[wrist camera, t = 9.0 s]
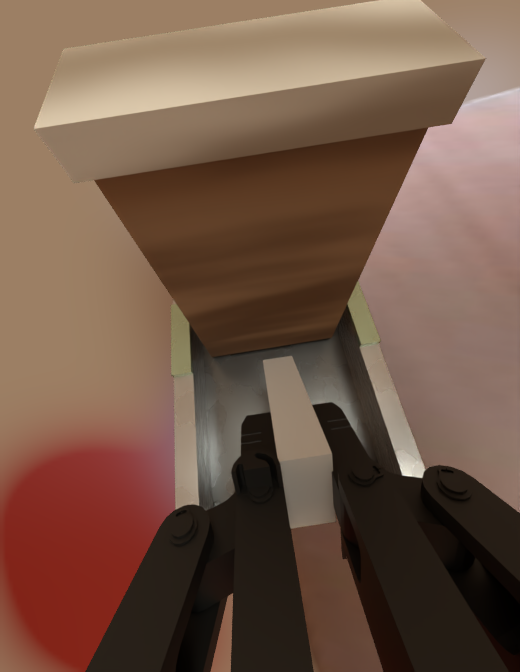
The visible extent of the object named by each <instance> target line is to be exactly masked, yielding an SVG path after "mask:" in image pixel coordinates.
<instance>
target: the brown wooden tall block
mask: <svg viewBox="0 0 520 672" xmlns="http://www.w3.org/2000/svg"><path fill="white" fill-rule="evenodd" d="M484 61H485V57H484V56H482V55H481V54H480V53H479V52H478V51H477V50H476V49H475V48H474V47H472V46H471V45H470V44H469V43H468V42H467V41H466V40H464V39H463V38H462V37H461V36H460V35H459V34H458V33H457V32H455V31H454V30H453V29H452V28H451V27H450V26H449V25H448V24H446V23H445V22H444V21H443V20H442V19H441V18H440V17H439V16H438V15H436V14H435V13H434V12H433V11H432V10H431V9H430V8H429V7H428V6H426V5H425V4H424V3H423V2H422V1H421V0H379V1H372V2H365V3H359V4H353V5H346V6H340V7H333V8H327V9H320V10H314V11H307V12H301V13H294V14H288V15H281V16H274V17H268V18H262V19H255V20H249V21H242V22H235V23H229V24H222V25H216V26H210V27H203V28H196V29H190V30H183V31H177V32H170V33H164V34H157V35H151V36H144V37H138V38H131V39H125V40H118V41H112V42H105V43H99V44H93V45H86V46H79V47H73V48H66V49H63V52H62V54H61V57H60V60H59V63H58V65H57V68H56V71H55V73H54V76H53V78H52V81H51V84H50V87H49V89H48V92H47V95H46V97H45V100H44V103H43V105H42V108H41V111H40V113H39V116H38V119H37V121H36V124H35V127H34V130H35V131H36V133H37V134H38V135H39V137H40V138H41V139H42V141H43V142H44V143H45V145H46V146H47V147H48V149H49V150H50V151H51V153H52V154H53V156H54V157H55V158H56V160H57V161H58V162H59V164H60V165H61V166H62V168H63V169H64V170H65V172H66V173H67V174H68V175H69V177H70V178H71V180H72V181H73V182H74V183H79V182H85V181H91V180H94V181H95V182H96V184H97V185H98V187H99V188H100V190H101V191H102V193H103V194H104V196H105V197H106V199H107V200H108V202H109V203H110V205H111V206H112V208H113V209H114V211H115V212H116V214H117V215H118V217H119V218H120V220H121V221H122V223H123V224H124V226H125V227H126V229H127V230H128V232H129V233H130V235H131V236H132V238H133V239H134V241H135V242H136V244H137V245H138V247H139V248H140V250H141V251H142V253H143V254H144V256H145V257H146V259H147V260H148V262H149V263H150V265H151V266H152V268H153V269H154V271H155V272H156V274H157V275H158V277H159V278H160V280H161V281H162V283H163V284H164V286H165V287H166V289H167V290H168V292H169V293H170V295H171V296H172V298H173V300H174V301H175V303H176V304H177V306H178V307H179V309H180V310H181V312H182V313H183V315H184V316H185V318H186V319H187V321H188V322H189V324H190V325H191V327H192V328H193V330H194V331H195V333H196V334H197V336H198V337H199V339H200V340H201V342H202V343H203V345H204V346H205V348H206V349H207V351H208V352H209V354H210V355H211V357H217V356H223V355H229V354H235V353H241V352H248V351H254V350H260V349H266V348H272V347H278V346H284V345H290V344H297V343H303V342H309V341H315V340H321V339H327V338H332V336H333V334H334V332H335V330H336V327H337V325H338V323H339V321H340V319H341V316H342V314H343V312H344V310H345V308H346V306H347V303H348V301H349V299H350V297H351V295H352V292H353V290H354V288H355V286H356V284H357V282H358V279H359V277H360V275H361V273H362V271H363V269H364V266H365V264H366V262H367V260H368V258H369V255H370V253H371V251H372V249H373V247H374V245H375V242H376V240H377V238H378V236H379V234H380V232H381V229H382V227H383V225H384V223H385V221H386V218H387V216H388V214H389V212H390V210H391V208H392V205H393V203H394V201H395V199H396V197H397V194H398V192H399V190H400V188H401V186H402V184H403V181H404V179H405V177H406V175H407V173H408V171H409V168H410V166H411V164H412V162H413V160H414V157H415V155H416V153H417V151H418V149H419V147H420V144H421V142H422V140H423V138H424V136H425V134H426V131H427V129H428V127H434V126H440V125H447V124H452V122H453V120H454V118H455V116H456V114H457V112H458V110H459V109H460V107H461V105H462V103H463V101H464V99H465V97H466V95H467V93H468V91H469V89H470V87H471V86H472V84H473V82H474V80H475V78H476V76H477V74H478V72H479V70H480V68H481V67H482V65H483V63H484Z"/></svg>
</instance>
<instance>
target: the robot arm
mask: <svg viewBox="0 0 520 672" xmlns="http://www.w3.org/2000/svg"><path fill="white" fill-rule="evenodd" d="M263 365H264V372H265V378H266V385H267V392H268V398H269V405H270V412H267V413H261V414H254V415H248V416H246V417H245V419H244V421H243V423H242V424H241V456H240V457H239V458H238V459H237V460H236V461H235V463H234V464H233V467H232V470H231V475H232V479H233V483H234V487H235V492H234V493H233V495H232V496H231V497H230V498H228V499H227V500H226V501H224V502H223V503H221V504H219V505H217V506H215V507H213V508H211V509H209V510H207V511H206V510H205V509H204V508H203V507H202V506H198V505H195V504H192V505H184V506H182V507H180V508H178V509H176V510H175V511H173V512H172V513H171V514H170V515H169V516H168V517H166V519H165V520H164V522H163V523H162V525H161V526H160V528H159V529H158V531H157V533H156V536H155V537H154V539H153V541H152V543H151V545H150V547H149V549H148V551H147V553H146V555H145V557H144V559H143V561H142V563H141V565H140V566H139V568H138V570H137V573H136V574H135V576H134V578H133V580H132V582H131V584H130V586H129V588H128V590H127V592H126V594H125V596H124V598H123V600H122V602H121V604H120V606H119V608H118V609H117V611H116V613H115V615H114V617H113V619H112V621H111V623H110V625H109V627H108V629H107V631H106V633H105V635H104V637H103V639H102V641H101V643H100V645H99V646H98V648H97V650H96V652H95V654H94V656H93V658H92V660H91V662H90V664H89V666H88V668H87V670H86V672H210V671H211V667H212V662H213V658H214V653H215V649H216V644H217V640H218V636H219V631H220V627H221V623H222V619H223V614H224V610H225V605H226V601H227V597H228V596H229V595H230V594H232V593H233V619H232V652H231V672H314V671H313V665H312V658H311V652H310V646H309V640H308V634H307V628H306V621H305V615H304V609H303V603H302V597H301V590H300V584H299V578H298V572H297V566H296V560H295V553H294V547H293V541H292V535H291V529H292V528H299V527H305V526H312V525H318V524H325V523H331V522H336V515H337V518H338V521H339V524H340V527H341V547H342V557H343V559H348V562H349V565H350V569H351V572H352V575H353V578H354V581H355V584H356V587H357V590H358V594H359V597H360V600H361V603H362V606H363V609H364V612H365V615H366V618H367V622H368V625H369V628H370V631H371V634H372V637H373V640H374V643H375V647H376V650H377V653H378V656H379V659H380V662H381V665H382V668H383V672H520V513H519V512H517V511H516V510H515V509H513V508H512V507H511V506H509V505H508V504H507V503H506V502H504V501H503V500H502V499H500V498H499V497H498V496H496V495H495V494H494V493H492V492H491V491H490V490H489V489H487V488H486V487H485V486H483V485H482V484H481V483H479V482H478V481H477V480H476V479H474V478H473V477H471V476H470V475H468V474H466V473H465V472H463V471H461V470H458V469H455V468H452V467H449V466H440V465H438V466H433V467H429V468H428V469H427V470H425V471H424V473H423V477H422V478H418V477H410V476H403V475H398V474H393V473H390V472H388V471H386V470H385V469H384V468H383V467H382V466H381V465H380V464H378V463H377V462H375V461H374V460H372V459H371V458H370V457H369V456H368V454H367V452H366V450H365V449H364V447H363V445H362V443H361V442H360V440H359V438H358V437H357V435H356V433H355V431H354V430H353V428H352V427H351V424H350V423H349V421H348V420H347V417H346V416H345V414H344V412H343V411H342V409H341V408H340V407H338V406H337V405H336V404H334V403H333V402H328V403H321V404H315V405H312V404H311V401H310V399H309V396H308V394H307V391H306V389H305V387H304V384H303V382H302V379H301V377H300V374H299V372H298V370H297V367H296V365H295V362H294V360H293V357H292V356H287V357H280V358H274V359H267V360H263ZM335 512H336V514H335ZM346 556H347V557H346Z"/></svg>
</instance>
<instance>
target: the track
mask: <svg viewBox="0 0 520 672" xmlns="http://www.w3.org/2000/svg"><path fill="white" fill-rule="evenodd" d="M380 342H381V340H380V337H379V335H378V332H377V330H376V327H375V324H374V322H373V319H372V316H371V314H370V311H369V308H368V306H367V303H366V300H365V298H364V295H363V293H362V290H361V287H360V285H359V282H357V284H356V286H355V288H354V290H353V292H352V295H351V297H350V299H349V301H348V303H347V306H346V308H345V310H344V312H343V314H342V316H341V319H340V321H339V323H338V325H337V327H336V330H335V332H334V334H333V336H332V338H327V339H321V340H315V341H309V342H303V343H297V344H290V345H284V346H278V347H272V348H266V349H260V350H254V351H248V352H241V353H235V354H229V355H223V356H217V357H211V355H210V354H209V352H208V351H207V349H206V348H205V346H204V345H203V343H202V342H201V340H200V339H199V337H198V336H197V334H196V333H195V331H194V330H193V328H192V327H191V325H190V324H189V322H188V321H187V319H186V318H185V316H184V315H183V313H182V312H181V310H180V309H179V307H178V306H177V304H176V303H175V301H174V300H173V305H171V367H172V368H171V375H172V376H173V377H174V425H175V426H174V428H175V429H174V430H175V510H176V509H178V508H180V507H182V506H184V505H192V504H195V505H198V506H202V507H203V508H204V509H205V510H206V511H207V510H209V509H211V508H213V507H215V506H217V505H219V504H221V503H223V502H224V501H226V500H227V499H228V498H230V497H231V496H232V495H233V493H234V492H235V487H234V483H233V479H232V475H231V470H232V467H233V464H234V463H235V461H236V460H237V459H238V458H239V457H240V456H241V424H242V423H243V421H244V419H245V417H246V416H248V415H254V414H261V413H267V412H270V405H269V398H268V392H267V385H266V378H265V372H264V365H263V360H267V359H274V358H280V357H287V356H292V357H293V360H294V362H295V365H296V367H297V370H298V372H299V374H300V377H301V379H302V382H303V384H304V387H305V389H306V391H307V394H308V396H309V399H310V401H311V404H312V405H315V404H321V403H328V402H333V403H334V404H336V405H337V406H338V407H340V408H341V409H342V411H343V412H344V414H345V416H346V417H347V420H348V421H349V423H350V424H351V427H352V428H353V430H354V431H355V433H356V435H357V437H358V438H359V440H360V442H361V443H362V445H363V447H364V449H365V450H366V452H367V454H368V456H369V457H370V458H371V459H372V460H374V461H375V462H377V463H378V464H380V465H381V466H382V467H383V468H384V469H385V470H386V471H388V472H390V473H393V474H398V475H403V476H410V477H418V478H422V477H423V473H424V471H425V467H424V464H423V462H422V459H421V456H420V454H419V451H418V448H417V446H416V443H415V440H414V437H413V435H412V432H411V429H410V427H409V424H408V421H407V419H406V416H405V413H404V411H403V408H402V405H401V403H400V400H399V397H398V395H397V392H396V389H395V386H394V384H393V381H392V378H391V376H390V373H389V370H388V368H387V365H386V362H385V360H384V357H383V354H382V352H381V349H380V346H379V343H380Z"/></svg>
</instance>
